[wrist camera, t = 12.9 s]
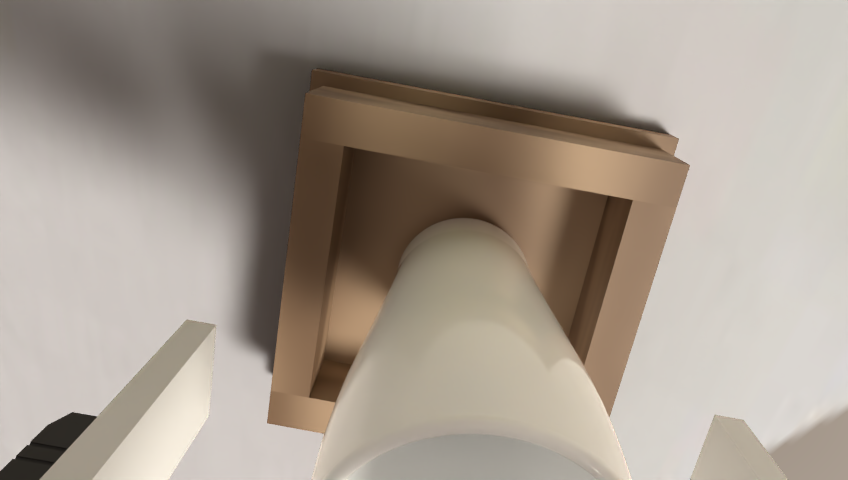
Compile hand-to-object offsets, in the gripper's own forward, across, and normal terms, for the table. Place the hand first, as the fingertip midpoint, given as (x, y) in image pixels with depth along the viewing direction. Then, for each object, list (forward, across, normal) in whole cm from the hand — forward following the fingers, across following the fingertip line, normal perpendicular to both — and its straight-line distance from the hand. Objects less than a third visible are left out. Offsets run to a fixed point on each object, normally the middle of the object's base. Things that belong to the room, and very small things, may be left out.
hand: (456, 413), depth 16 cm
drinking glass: (+10, 0, 0) cm, 10 cm away
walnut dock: (+11, 0, 0) cm, 11 cm away
